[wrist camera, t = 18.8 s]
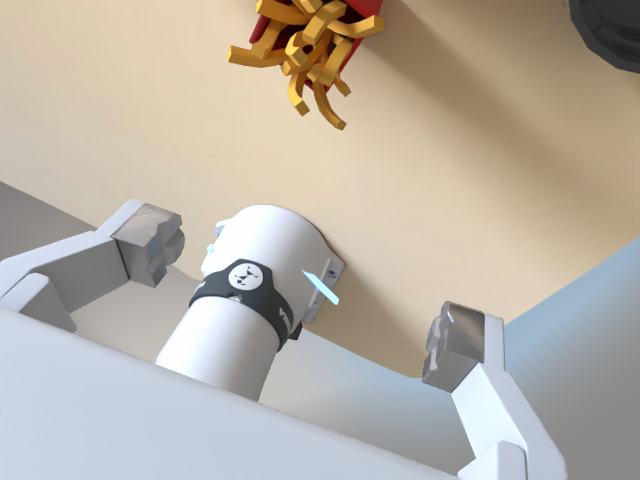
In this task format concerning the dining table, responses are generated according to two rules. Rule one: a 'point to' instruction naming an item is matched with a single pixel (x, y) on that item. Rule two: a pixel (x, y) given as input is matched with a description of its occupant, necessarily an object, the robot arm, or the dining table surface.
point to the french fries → (310, 44)
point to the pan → (609, 29)
